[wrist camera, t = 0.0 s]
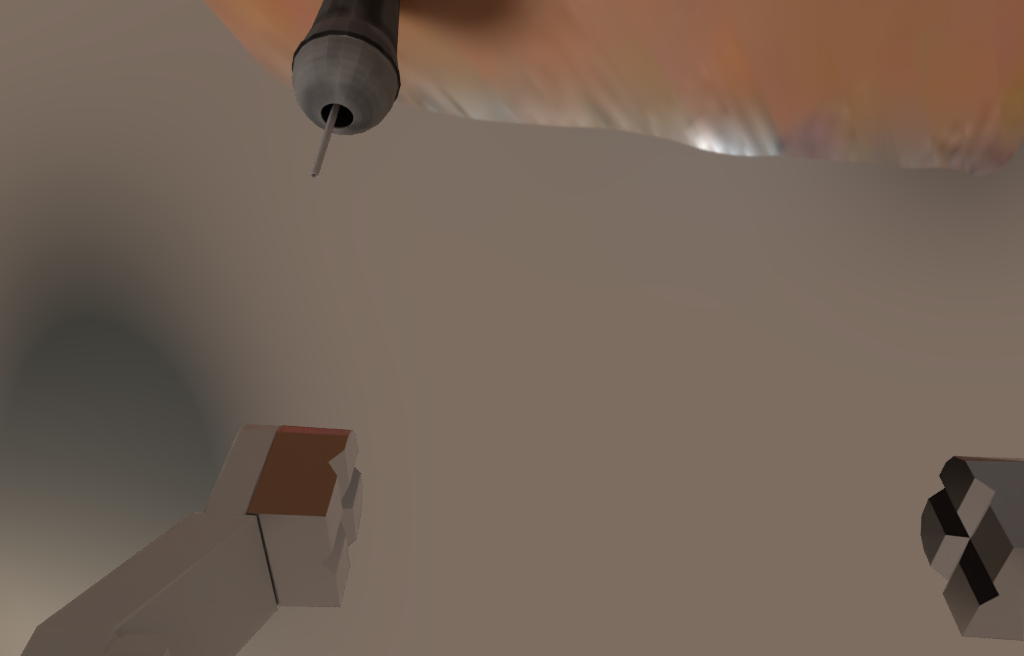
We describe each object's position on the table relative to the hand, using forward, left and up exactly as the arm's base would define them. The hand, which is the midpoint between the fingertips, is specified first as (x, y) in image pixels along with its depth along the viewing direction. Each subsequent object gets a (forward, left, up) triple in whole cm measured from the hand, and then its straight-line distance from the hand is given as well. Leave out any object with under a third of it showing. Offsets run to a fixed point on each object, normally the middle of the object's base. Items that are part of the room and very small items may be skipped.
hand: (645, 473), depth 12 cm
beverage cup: (+29, +6, -52) cm, 60 cm away
